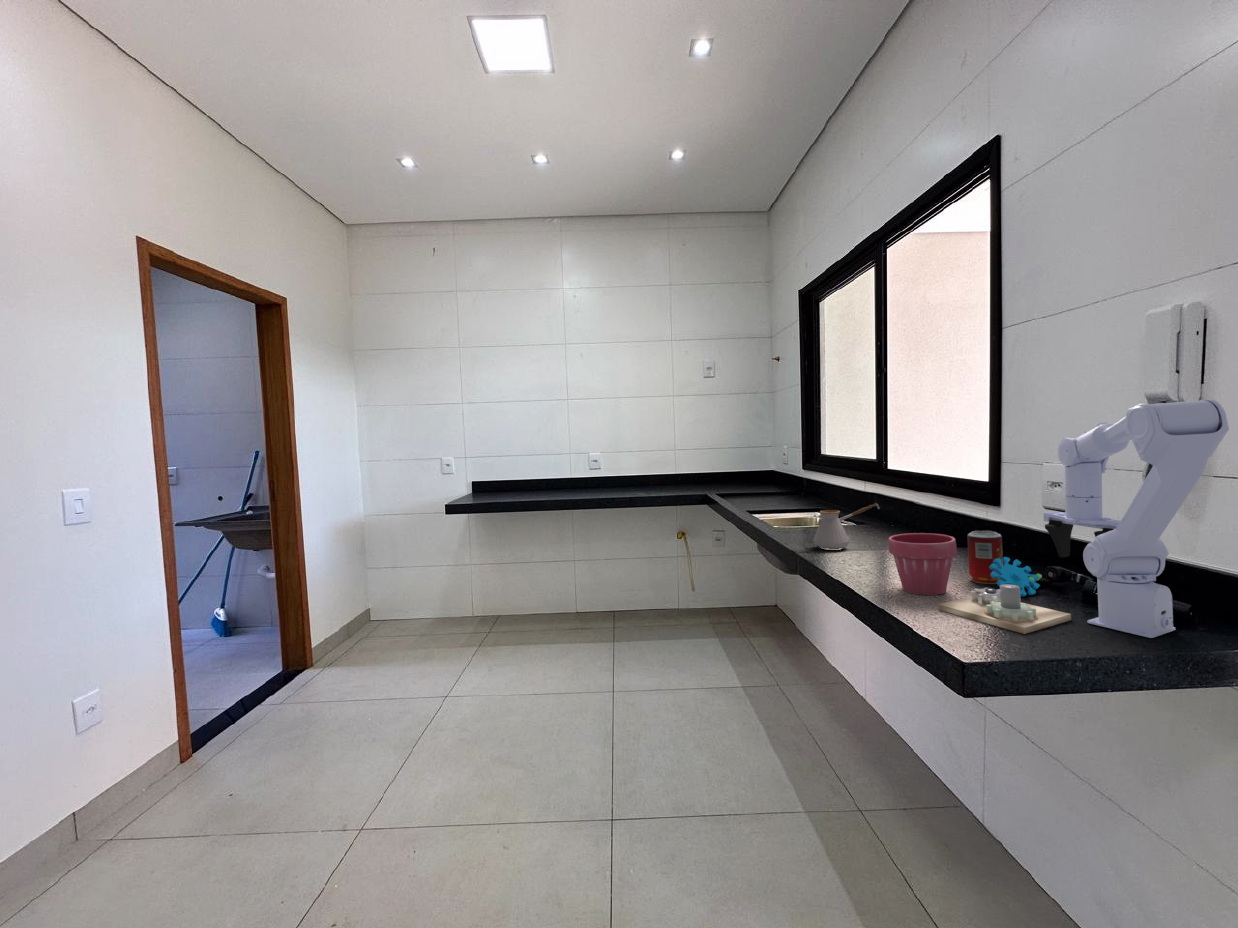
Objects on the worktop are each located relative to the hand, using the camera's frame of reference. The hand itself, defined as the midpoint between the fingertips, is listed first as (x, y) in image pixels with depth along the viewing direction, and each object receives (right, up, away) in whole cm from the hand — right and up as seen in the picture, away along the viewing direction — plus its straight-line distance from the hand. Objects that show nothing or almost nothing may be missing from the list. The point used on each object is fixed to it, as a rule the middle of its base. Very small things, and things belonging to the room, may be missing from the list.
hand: (1084, 560), depth 109 cm
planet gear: (-19, -10, -5) cm, 22 cm away
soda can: (-5, -9, +22) cm, 24 cm away
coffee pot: (-19, -9, +69) cm, 72 cm away
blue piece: (-5, -10, +12) cm, 16 cm away
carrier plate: (-18, -11, -1) cm, 21 cm away
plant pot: (-23, -11, +18) cm, 31 cm away
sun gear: (-17, -9, +3) cm, 20 cm away
